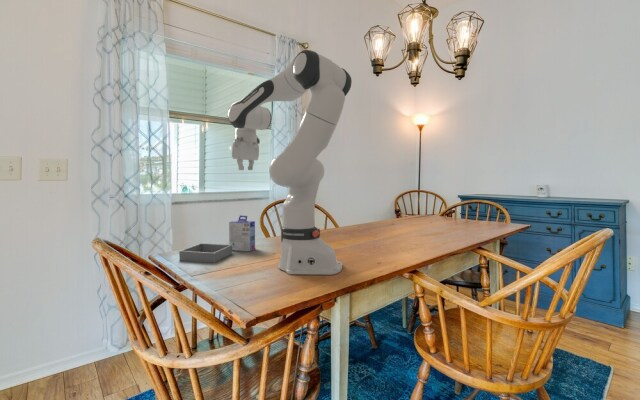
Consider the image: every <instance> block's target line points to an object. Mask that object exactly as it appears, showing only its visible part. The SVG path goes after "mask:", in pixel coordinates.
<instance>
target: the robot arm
mask: <svg viewBox="0 0 640 400" xmlns="http://www.w3.org/2000/svg"><path fill="white" fill-rule="evenodd" d="M352 83H353V82H352V77H351V75H350V73H349V72H348V71H347V70H346V69H344V68H342V67H340V66H339V65H338V64H336V63H335V62H333V61H332V60H331V59H329V58H328V57H325V56H324V55H322V54H319V53H317V51H314V50H309V49H303V50H301V51H300V52H298V54H297V55H296V56H295V58H294V59H293V61H292V62H290V63H289V64H288V65H287V66H286V67H285V68H284V69H283V70H282V71H281V72H279V73H278V74H277V75H275V76H274V77H272V78H270V79H268V80H265V81H262V83H260V84H258V85H256V87H255V88H253V89H252V90H251V91H250V92H249V93H248V94H247V95H245V96H244V97H242V98H241V99H239V100H238V101H235V102H233V103H232V104H231V105H230V107H229V108H228V109H227V119H228V122H229V123H230V125H231V126H233V128H235V138H234V140H233V142H232V148H231V157H232V159H233V160H236V162H237V165H238V170H239V171H244V170H245V166H244V161H245V160H246V161H248V166H247V170H248V171H253V170H254V169H253V168H254V165H255V161H258V160H259V156H260V155H259V154H260V146H259V145H260V143H261V141H260V138H259V137H258V136H257V130H260V131H263V130H267V129H269V128H270V126H271V125H272V113H271V110H269V108H267V107H265V106H262V105H264V104H266V103H269V102H270V103H271V102H293V101H295V100H296V101H297V100H298V99H299V98H301V97H303V95H305V93H306V92H308V90H310V91H311V98H310V102H309V104H308V105H307V108H306V110H305V112H304V115H303V118H302V120H301V121H300V124H299V127H298V129H297V131H296V132H295V135H294V136H293V138H292V139H291V141H290V142H289V143H288V144H287V146H286V147H285V149H284V150H283V151H282V152H281V153H280V154H279V155H278V156H276V157H275V158H273V159H272V161H271V163H270V164H269V169H268V170H269V177H270V179H271V181H272V182H273V183H274V184H276V185H277V186H280V187H283V188H284V187H285V188H289V189H288V190H289V191H288V194H287V196H286V199H285V200H284V201H283V204H282V226H281V229H280V240H281V251H280V257H279V262H278V266H277V268H278V269H279V270H281V271H284V272H286V274H288V275H315V276H316V275H317V276H318V275H323V276H324V275H327V276H328V275H330V276H331V275H332V276H333V275H336V274H338V273H340V272H341V271H342V269H343V263H342V262H341V261H339V260H337V256H336V251H335V249H334V248H333V247H332V246H331V245H330V244H328V243H327V242H326V241H325V240H323V238H321V228H318V227H316V226H315V209H316V207H315V205H316V201H317V200H316V199H317V194H318V191H319V187H320V183H321V181H322V179H323V178H324V176H325V168H324V164H323V163H322V161H320V160H319V159H318V156H319V155H320V154H321V153H322V152H323V151H324V150H325V149H326V148H327V147H328V145H329V143H330V141H331V139H332V136H333V134H334V132H335V130H336V127H337V125H338V123H339V120H340V118H341V114H342V112H343V108H344V106H345V105H344V104H345V102H346V101H345V100H346V96H347V95H348V93H349V92H350V90H351V87H352Z"/></svg>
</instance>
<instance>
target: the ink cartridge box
mask: <svg viewBox="0 0 640 400" xmlns="http://www.w3.org/2000/svg"><path fill="white" fill-rule="evenodd" d="M228 226H229V227H228V228H229V229H228V234H229V235H228V236H229V237H228V239H229V240H228V245H232V251H238V252H239V251H241V252H251V251H254V250H255V249H256V221H255V220H248V215H239V217H238V219H237V220H232V221H229V223H228Z"/></svg>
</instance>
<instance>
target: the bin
mask: <svg viewBox="0 0 640 400" xmlns="http://www.w3.org/2000/svg"><path fill="white" fill-rule="evenodd" d="M178 252H179V253H178V254H179V261H185V262H186V261H187V262H198V263H200V262H201V263H210V264H211V263H212V264H214V263H216V262H219V261H220V260H222V259H224V258H226V257H228V256H230V255H232V254H233V250H232V245H229V244H221V243H219V244H218V243H203V242H200V243H197V244H195V245H192V246H189V247H187V248H184V249H181V250H179V251H178Z"/></svg>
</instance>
